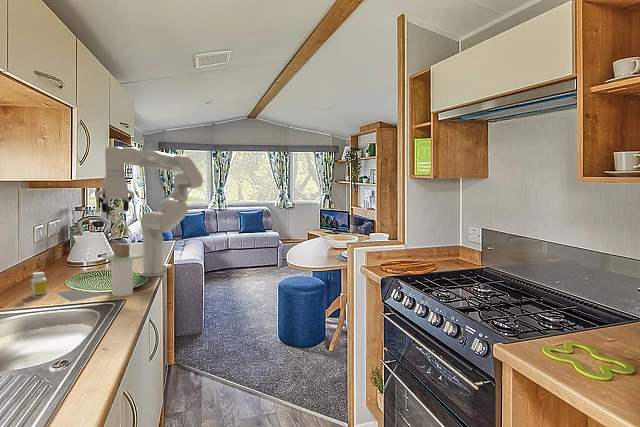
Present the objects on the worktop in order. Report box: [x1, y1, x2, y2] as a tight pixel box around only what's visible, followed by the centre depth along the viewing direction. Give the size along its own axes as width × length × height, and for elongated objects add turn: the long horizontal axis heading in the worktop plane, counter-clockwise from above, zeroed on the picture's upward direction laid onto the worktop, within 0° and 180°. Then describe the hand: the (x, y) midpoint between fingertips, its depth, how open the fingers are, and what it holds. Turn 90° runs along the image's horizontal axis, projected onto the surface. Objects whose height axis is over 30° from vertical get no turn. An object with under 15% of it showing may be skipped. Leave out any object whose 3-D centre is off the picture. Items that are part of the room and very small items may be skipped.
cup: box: [110, 259, 134, 297], centre depth 188 cm, size 8×8×16 cm
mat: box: [56, 288, 112, 302], centre depth 187 cm, size 16×16×1 cm
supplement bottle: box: [30, 271, 48, 298], centre depth 181 cm, size 5×5×10 cm
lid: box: [100, 242, 143, 262], centre depth 186 cm, size 12×12×6 cm
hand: (115, 211), depth 203 cm, fingers open, 9 cm apart
